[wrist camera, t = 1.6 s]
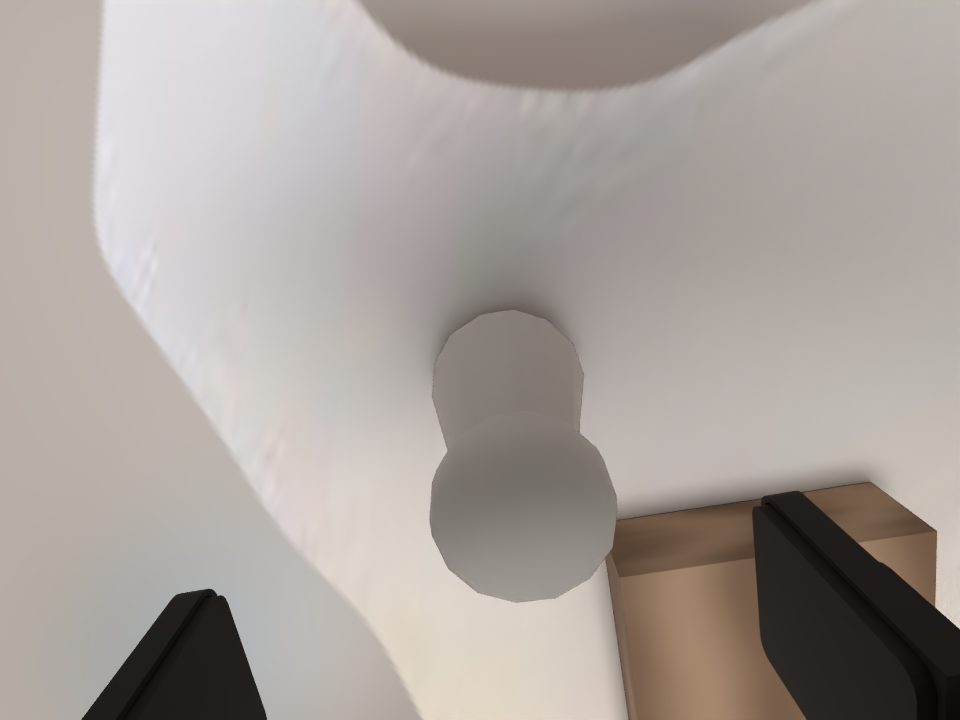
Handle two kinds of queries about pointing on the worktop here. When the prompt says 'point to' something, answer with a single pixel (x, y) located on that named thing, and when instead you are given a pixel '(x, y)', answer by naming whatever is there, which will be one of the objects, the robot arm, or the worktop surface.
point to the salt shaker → (517, 462)
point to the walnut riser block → (729, 601)
